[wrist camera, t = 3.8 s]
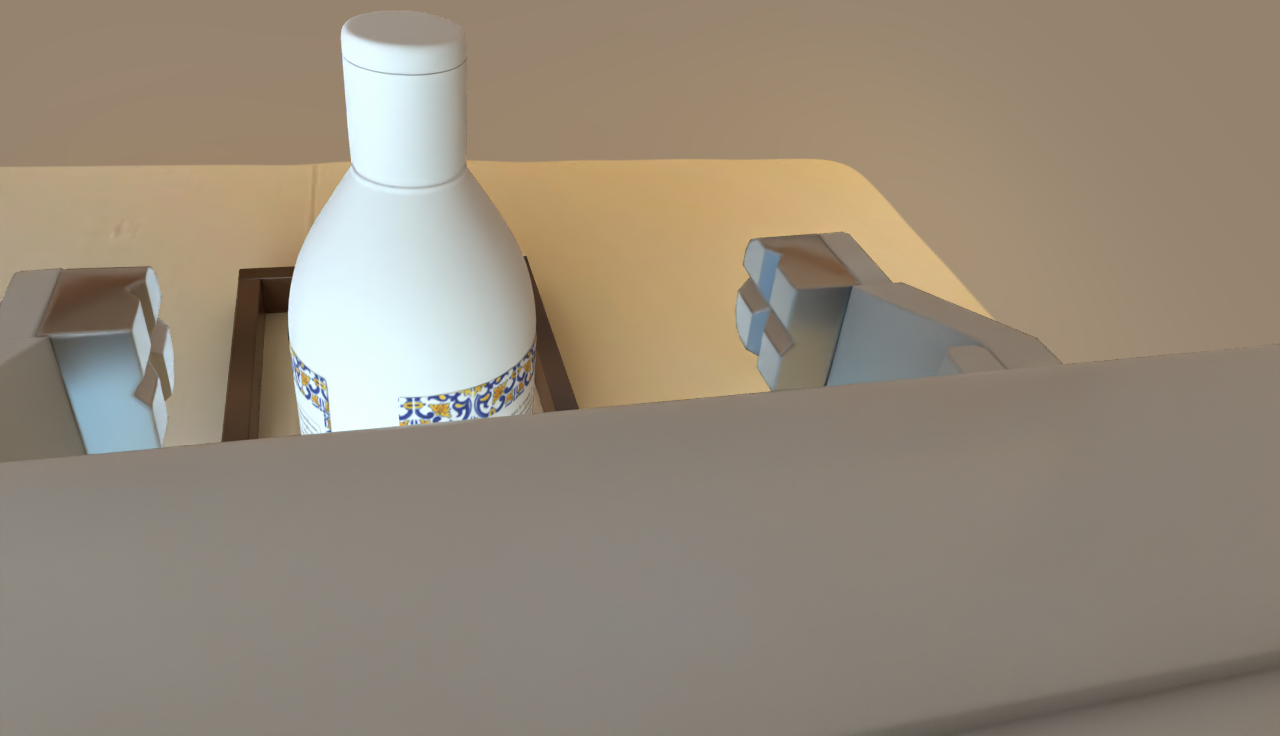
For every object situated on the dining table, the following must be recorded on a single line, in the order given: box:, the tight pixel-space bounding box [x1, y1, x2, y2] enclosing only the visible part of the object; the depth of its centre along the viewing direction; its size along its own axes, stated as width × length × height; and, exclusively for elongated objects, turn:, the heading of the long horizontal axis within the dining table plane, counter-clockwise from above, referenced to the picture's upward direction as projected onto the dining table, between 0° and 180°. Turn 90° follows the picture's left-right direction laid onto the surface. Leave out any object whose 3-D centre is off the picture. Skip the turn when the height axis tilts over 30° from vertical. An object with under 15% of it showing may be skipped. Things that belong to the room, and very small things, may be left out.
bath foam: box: [288, 10, 537, 435], centre depth 29 cm, size 7×7×20 cm
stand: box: [222, 256, 579, 442], centre depth 45 cm, size 13×14×2 cm
